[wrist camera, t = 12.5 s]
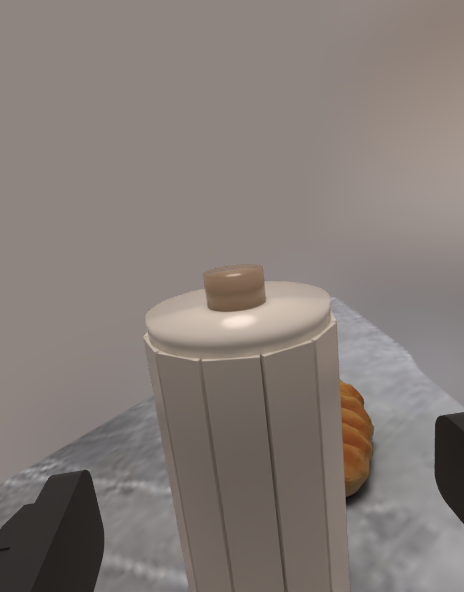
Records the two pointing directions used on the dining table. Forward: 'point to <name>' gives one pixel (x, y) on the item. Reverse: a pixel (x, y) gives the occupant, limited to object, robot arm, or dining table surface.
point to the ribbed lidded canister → (252, 432)
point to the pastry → (355, 438)
